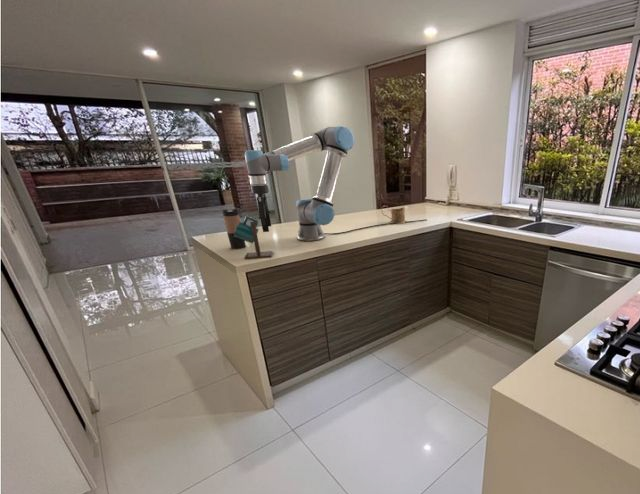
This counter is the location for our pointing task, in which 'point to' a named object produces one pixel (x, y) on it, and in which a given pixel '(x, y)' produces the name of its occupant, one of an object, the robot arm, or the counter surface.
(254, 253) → the mug stand
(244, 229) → the teal mug
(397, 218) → the mug
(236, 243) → the travel mug
